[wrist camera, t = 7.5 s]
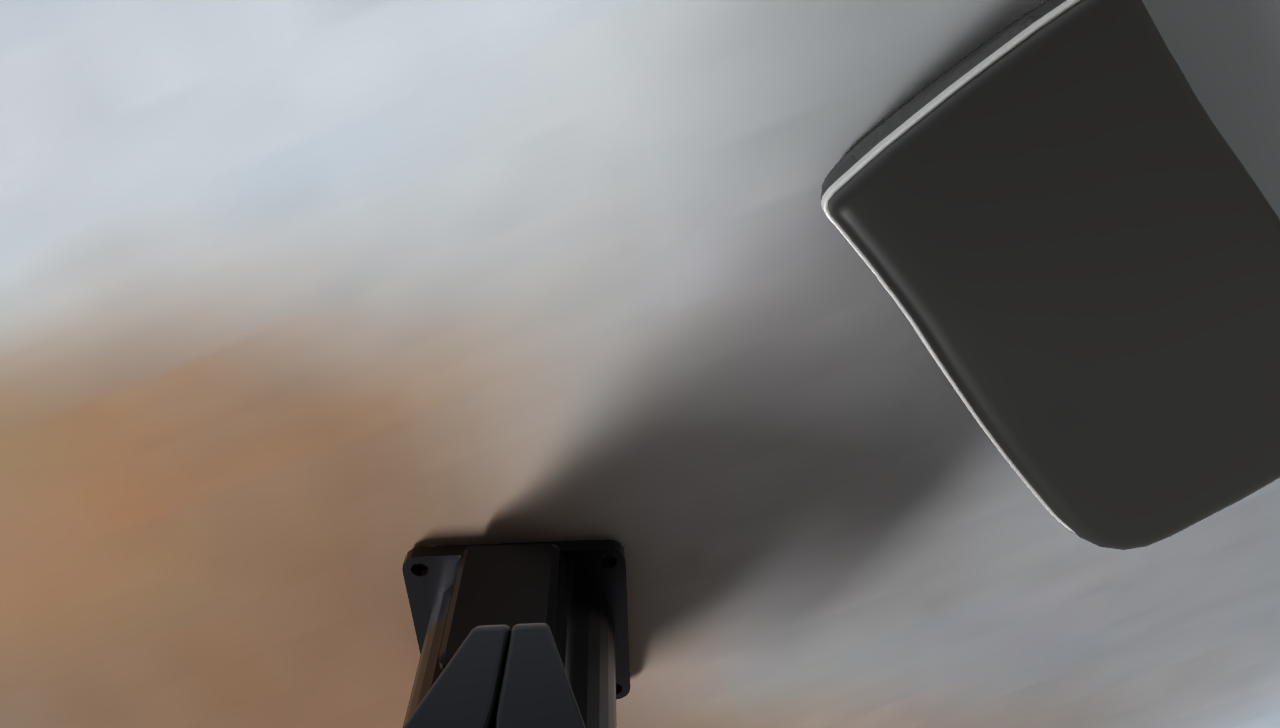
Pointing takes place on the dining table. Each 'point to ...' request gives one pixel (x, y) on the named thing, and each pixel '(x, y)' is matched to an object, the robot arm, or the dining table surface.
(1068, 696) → the dining table surface
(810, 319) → the dining table surface
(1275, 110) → the mat
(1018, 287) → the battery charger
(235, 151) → the dining table surface
